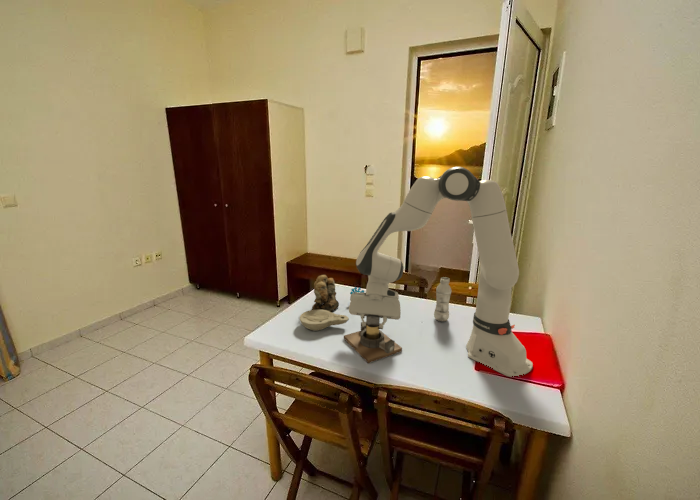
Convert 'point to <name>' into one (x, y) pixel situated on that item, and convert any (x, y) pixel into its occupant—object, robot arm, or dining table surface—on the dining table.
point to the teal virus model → (356, 290)
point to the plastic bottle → (442, 300)
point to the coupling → (372, 327)
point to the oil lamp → (321, 319)
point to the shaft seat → (372, 345)
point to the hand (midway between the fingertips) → (372, 327)
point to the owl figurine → (325, 294)
